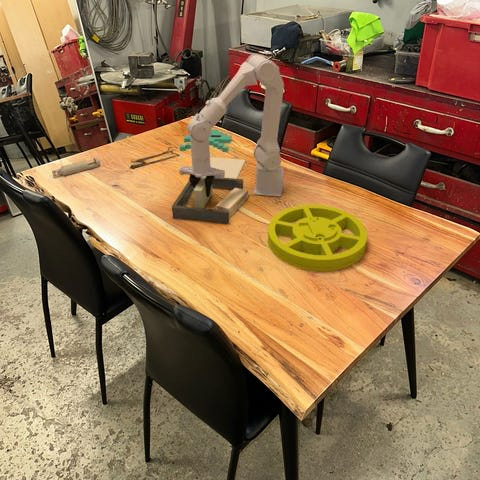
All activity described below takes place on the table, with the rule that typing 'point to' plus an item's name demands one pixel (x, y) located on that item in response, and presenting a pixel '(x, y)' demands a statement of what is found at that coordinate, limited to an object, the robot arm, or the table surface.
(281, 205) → the table surface
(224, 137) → the alien figure
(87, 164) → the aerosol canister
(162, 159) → the hacksaw
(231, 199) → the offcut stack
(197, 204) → the sage board
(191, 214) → the offcut rack
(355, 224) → the pulley
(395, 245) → the table surface
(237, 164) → the rubber mat
